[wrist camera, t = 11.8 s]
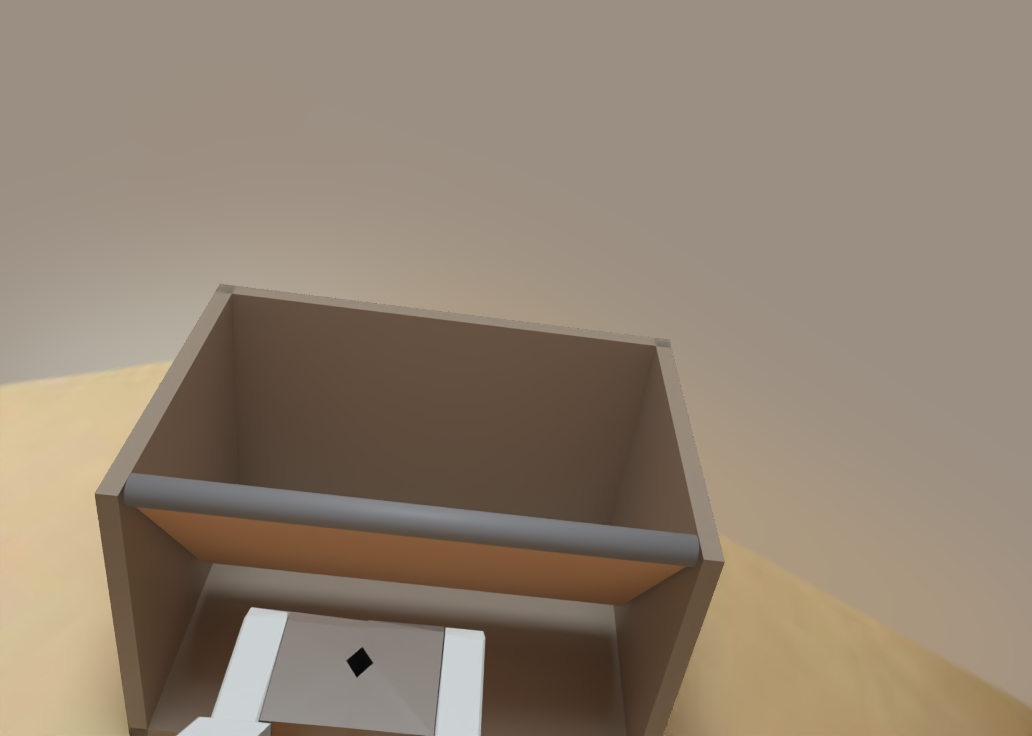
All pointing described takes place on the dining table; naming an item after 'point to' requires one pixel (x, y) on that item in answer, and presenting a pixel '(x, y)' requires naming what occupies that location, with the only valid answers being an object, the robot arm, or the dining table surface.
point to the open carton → (416, 497)
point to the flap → (409, 541)
